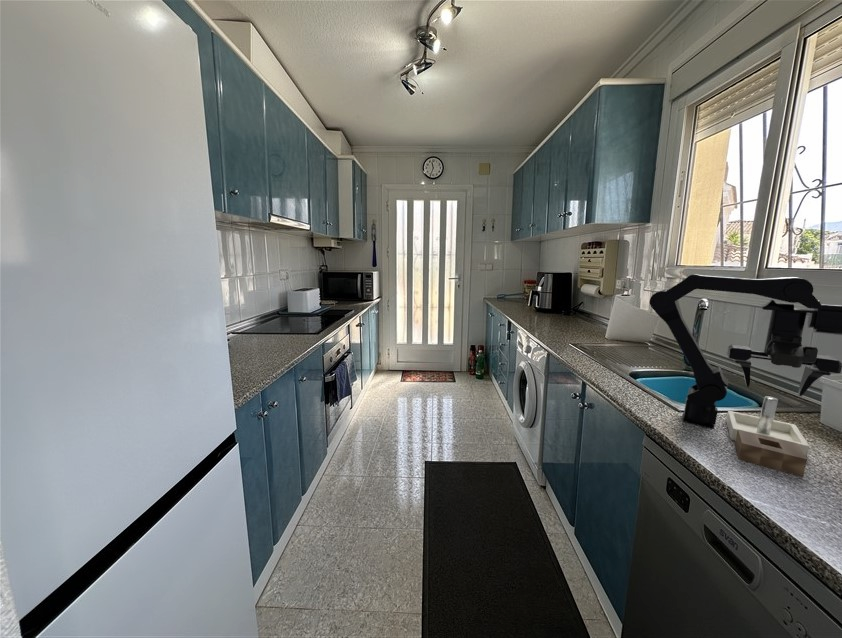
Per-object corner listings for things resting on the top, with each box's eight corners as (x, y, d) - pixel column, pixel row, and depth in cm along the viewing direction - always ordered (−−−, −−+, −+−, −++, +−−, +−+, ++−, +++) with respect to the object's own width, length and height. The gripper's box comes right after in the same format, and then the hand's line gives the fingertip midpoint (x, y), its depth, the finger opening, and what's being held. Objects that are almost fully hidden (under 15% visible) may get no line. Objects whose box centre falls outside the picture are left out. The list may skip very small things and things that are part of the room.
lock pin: (757, 434, 87) (765, 399, 84) (755, 430, 89) (763, 395, 86) (770, 437, 85) (779, 401, 83) (768, 433, 87) (777, 397, 85)
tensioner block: (738, 459, 78) (742, 443, 77) (734, 444, 84) (737, 429, 83) (803, 476, 72) (807, 459, 71) (793, 459, 78) (797, 443, 77)
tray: (731, 439, 86) (733, 428, 85) (726, 420, 96) (728, 410, 96) (806, 458, 78) (809, 446, 78) (792, 435, 88) (795, 424, 88)
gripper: (736, 329, 81) (726, 391, 84) (859, 341, 70) (841, 412, 73) (731, 323, 90) (722, 379, 93) (839, 332, 79) (825, 396, 82)
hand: (772, 391), depth 85 cm, fingers open, 9 cm apart
